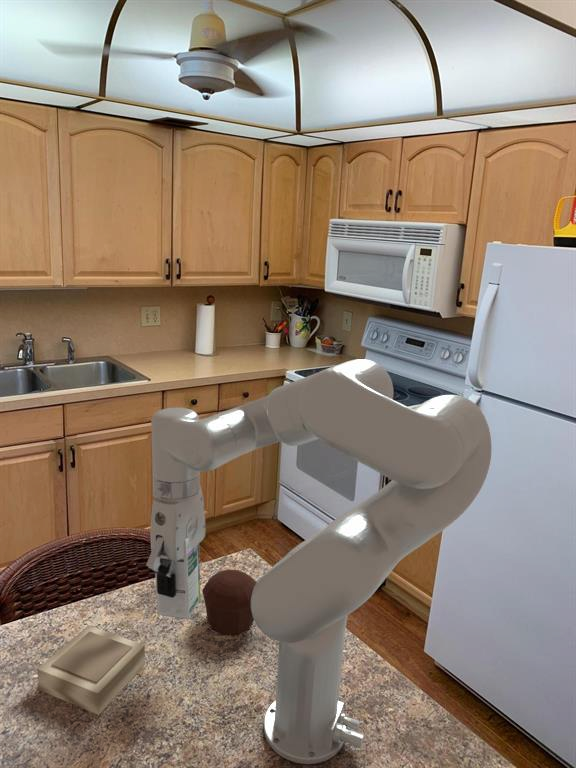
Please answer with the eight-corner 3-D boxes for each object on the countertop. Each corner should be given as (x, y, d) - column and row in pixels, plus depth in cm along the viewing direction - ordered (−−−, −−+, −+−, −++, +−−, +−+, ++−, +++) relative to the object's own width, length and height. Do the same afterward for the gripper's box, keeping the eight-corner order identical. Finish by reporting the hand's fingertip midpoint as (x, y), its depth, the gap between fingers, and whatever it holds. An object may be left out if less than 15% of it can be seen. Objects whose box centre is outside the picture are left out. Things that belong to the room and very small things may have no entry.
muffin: (190, 616, 113) (191, 571, 111) (236, 596, 120) (238, 554, 118) (224, 650, 105) (226, 601, 102) (271, 626, 112) (274, 581, 109)
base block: (144, 664, 100) (144, 643, 99) (98, 715, 89) (98, 692, 88) (89, 644, 104) (88, 624, 103) (38, 689, 93) (37, 667, 92)
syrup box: (188, 620, 95) (187, 540, 92) (155, 615, 96) (153, 535, 93) (200, 600, 100) (200, 524, 97) (169, 595, 101) (167, 520, 98)
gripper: (166, 510, 84) (168, 618, 88) (222, 470, 100) (222, 563, 104) (123, 500, 87) (128, 606, 91) (185, 463, 102) (186, 555, 106)
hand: (178, 582), depth 97 cm, fingers closed on syrup box, 6 cm apart
